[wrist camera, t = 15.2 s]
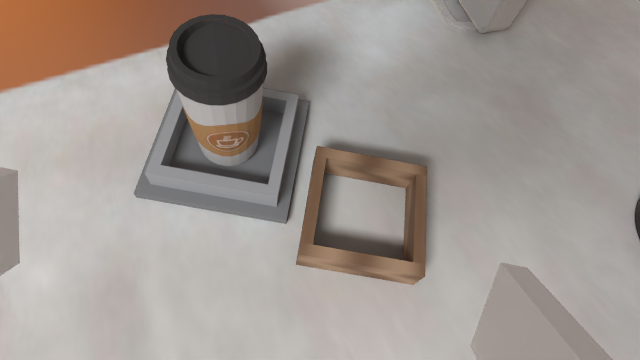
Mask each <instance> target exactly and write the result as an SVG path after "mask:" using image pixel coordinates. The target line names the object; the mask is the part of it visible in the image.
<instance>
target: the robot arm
mask: <svg viewBox="0 0 640 360" xmlns="http://www.w3.org/2000/svg"><path fill="white" fill-rule="evenodd" d="M636 226H637V231H638V234H639V237H640V200H639V202H638V205H637V208H636ZM19 263H20V258H19V214H18V171H17V170H12V169H6V168H1V167H0V276H1V275H2V274H4V273H5V272H7V271H8V270H10V269H11V268H13V267H14V266H16V265H17V264H19ZM470 346H471V348H472V350H473V352H474V354H475V356H476V358H477V360H613V359H612V358H611V357H610V356H609V355H608V354H607V353H606V352H605V351H604V350H603V349H602V348H601V346H600V345H599V344H598V343H597V342H596V341H595V340H594V339H593V338H592V337H591V336H590V335H589V334H588V332H587V331H586V330H585V329H584V328H583V327H582V326H581V325H580V324H579V323H578V322H577V321H576V320H575V318H574V317H573V316H572V315H571V314H570V313H569V312H568V311H567V310H566V309H565V308H564V307H563V306H562V304H561V303H560V302H559V301H558V300H557V299H556V298H555V297H554V296H553V295H552V294H551V293H550V292H549V290H548V289H547V288H546V287H545V286H544V285H543V284H542V283H541V282H540V281H539V280H538V279H537V278H536V276H535V275H534V274H533V273H532V272H531V271H530V270H529V269H528V268H526V267H521V266H515V265H510V264H505V263H500V266H499V268H498V271H497V274H496V277H495V279H494V282H493V285H492V287H491V290H490V293H489V296H488V298H487V301H486V304H485V307H484V309H483V312H482V315H481V318H480V320H479V323H478V326H477V329H476V331H475V334H474V337H473V339H472V342H471V345H470Z"/></svg>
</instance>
